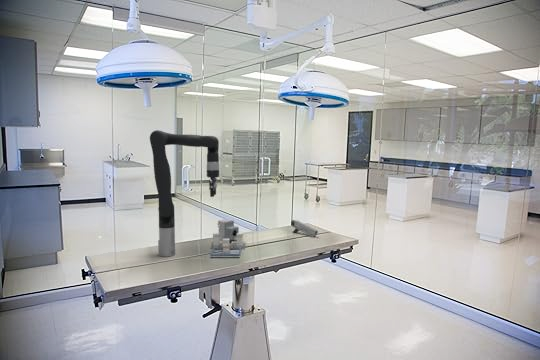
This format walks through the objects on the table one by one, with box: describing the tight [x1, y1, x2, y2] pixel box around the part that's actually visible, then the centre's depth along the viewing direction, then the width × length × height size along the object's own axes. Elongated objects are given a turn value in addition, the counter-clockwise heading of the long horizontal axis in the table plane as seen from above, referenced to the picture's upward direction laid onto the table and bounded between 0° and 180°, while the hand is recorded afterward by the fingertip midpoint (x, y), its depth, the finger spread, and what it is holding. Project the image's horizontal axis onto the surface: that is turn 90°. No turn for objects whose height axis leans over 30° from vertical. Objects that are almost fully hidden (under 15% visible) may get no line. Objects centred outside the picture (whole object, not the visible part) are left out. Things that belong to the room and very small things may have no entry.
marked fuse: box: [222, 239, 231, 254], centre depth 215 cm, size 4×4×9 cm
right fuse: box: [236, 232, 244, 248], centre depth 226 cm, size 4×4×9 cm
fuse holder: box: [209, 240, 246, 250], centre depth 226 cm, size 22×9×5 cm, turn 91°
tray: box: [210, 248, 242, 259], centre depth 215 cm, size 17×13×2 cm
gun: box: [290, 219, 319, 238], centre depth 266 cm, size 2×25×10 cm, turn 44°
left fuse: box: [212, 232, 220, 248], centre depth 226 cm, size 4×4×9 cm
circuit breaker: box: [217, 218, 240, 242], centre depth 242 cm, size 8×14×15 cm, turn 53°
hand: (213, 195), depth 215 cm, fingers open, 8 cm apart
